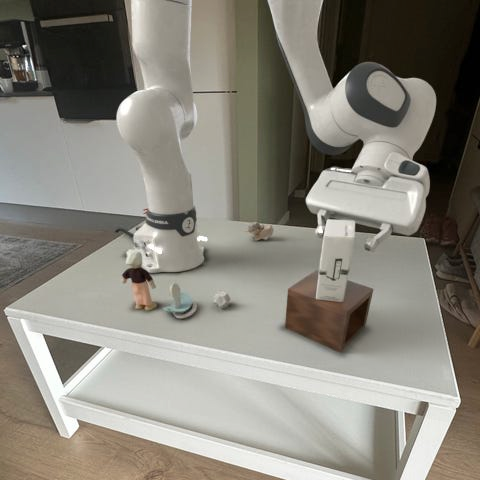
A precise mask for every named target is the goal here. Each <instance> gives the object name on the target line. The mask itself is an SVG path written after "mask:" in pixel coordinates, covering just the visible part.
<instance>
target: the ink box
mask: <svg viewBox="0 0 480 480" xmlns="http://www.w3.org/2000/svg"><path fill="white" fill-rule="evenodd" d="M325 222H326V221H325ZM325 226H326V227H325V232H324V237H323V238H322V243H321V252H320V259H319V265H318V271H319V274H318V283H317V292H316V299H319V300H327V301H335V302H343V301H344V295H345V289H346V284H347V280H349V279H348V278H349V273H350V269H351V268H350V267H351V262H352V256H353V251H354V245H355V241H356V223H355V221H352V220H339V219H333V218H329V219H327V222H326V223H325Z"/></svg>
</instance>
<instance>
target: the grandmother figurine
mask: <svg viewBox="0 0 480 480" xmlns="http://www.w3.org/2000/svg"><path fill="white" fill-rule="evenodd" d="M142 258H143V257H142V254H141V253H140V252H139V251H136V250H135V251H132V252H130V253H129V254H128V256H127V255H126V258H125V264H126V265H127V266H130V267H129V268H127V269H125V270H124V272H123V273H122V274H121V276H122V278H121V283H122V284H126V283H127V282H128V279H130V280H131V286H132V293H133V296H134V300H135V304H136V305H135V307H134V308H135V309H136V310H142V309H143V308H144V310H145V311H152V310H154V309H155V308H157V303H156V302H154V301H152V296H151V292H150V288H151V289H152V290H155V289H156V288H157V285H156V283H155V281H154V279H153V277H152V275H151V273H149V272H148V271H147V270H145V269H144V268H142V267H141V266H142ZM149 285H150V286H149Z"/></svg>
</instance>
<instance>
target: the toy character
mask: <svg viewBox="0 0 480 480" xmlns="http://www.w3.org/2000/svg"><path fill="white" fill-rule="evenodd" d="M248 232H249V233H250V234H251V236H254V240H255V241H260V240H264V241H266V240H268V239H269V237H271V236H273V233H274V228H273V225H272V224H268V225H264V224H261V225H260V223H259V222H258V221H253V222H250V223H249V224H248V228H246V229H244V233H248Z"/></svg>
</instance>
